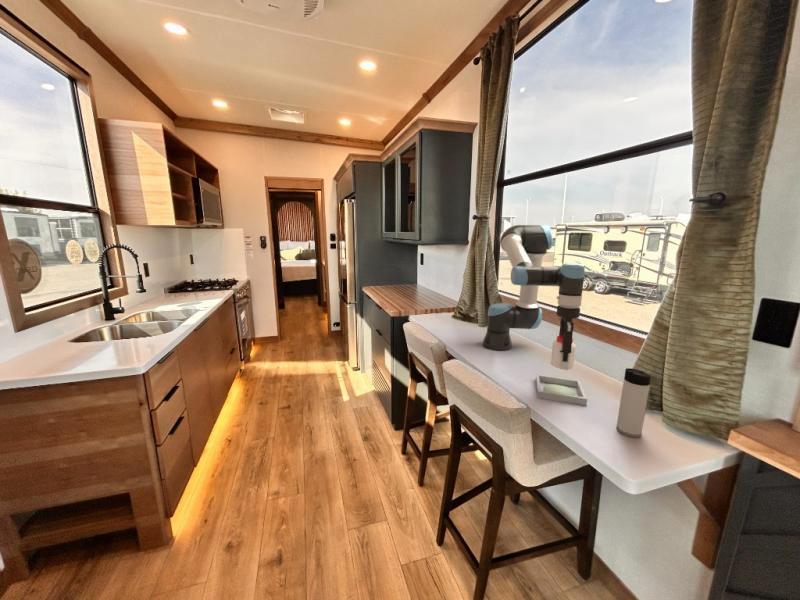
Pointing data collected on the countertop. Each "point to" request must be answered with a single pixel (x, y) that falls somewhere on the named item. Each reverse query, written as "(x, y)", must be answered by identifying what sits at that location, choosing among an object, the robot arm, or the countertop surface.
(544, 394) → the shallow grey tray
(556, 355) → the pill bottle
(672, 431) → the countertop surface
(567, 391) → the pad
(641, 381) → the travel mug
